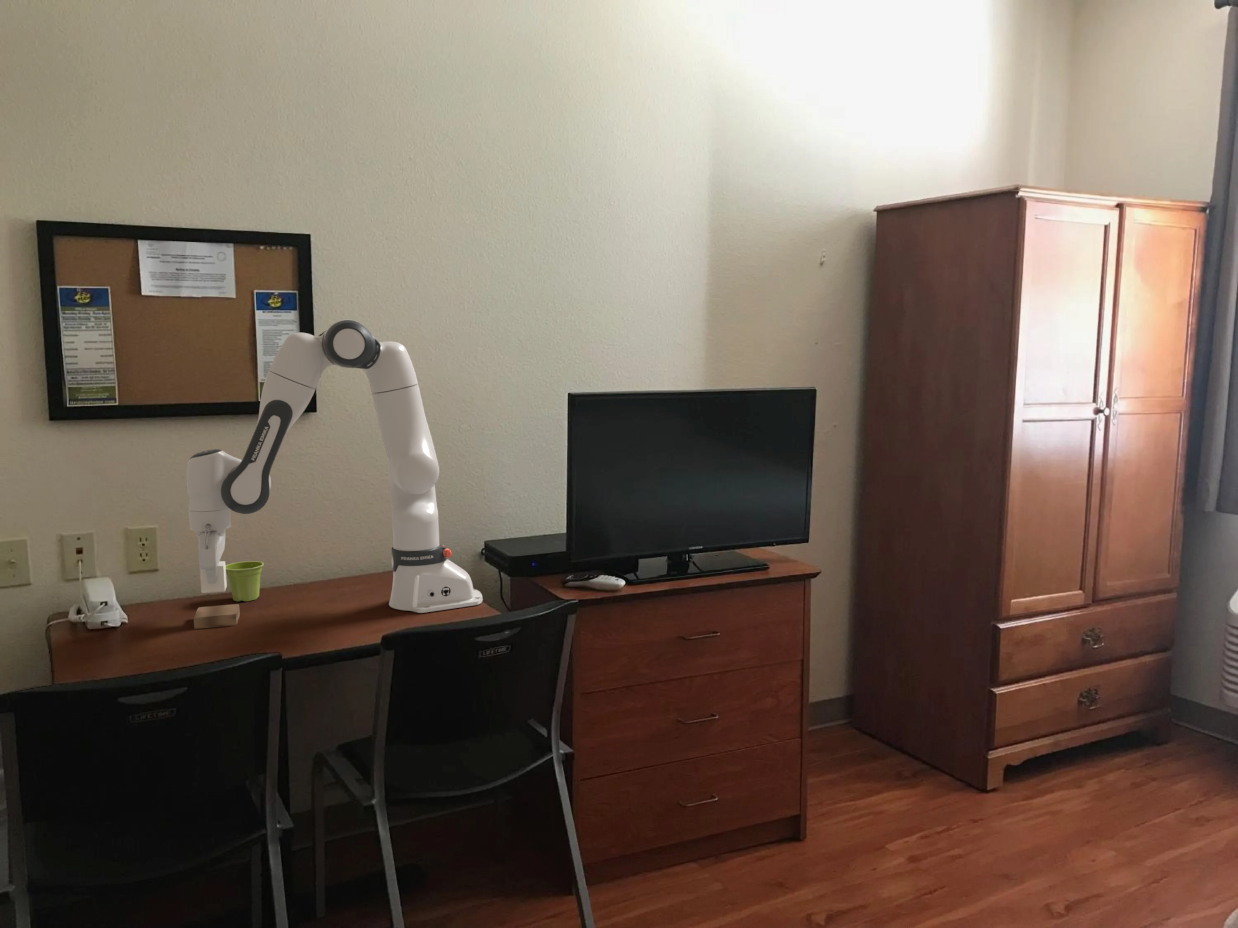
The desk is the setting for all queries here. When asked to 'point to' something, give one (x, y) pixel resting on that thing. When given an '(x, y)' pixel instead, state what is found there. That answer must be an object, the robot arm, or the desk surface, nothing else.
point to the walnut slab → (216, 616)
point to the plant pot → (244, 579)
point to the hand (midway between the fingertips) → (213, 579)
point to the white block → (220, 583)
